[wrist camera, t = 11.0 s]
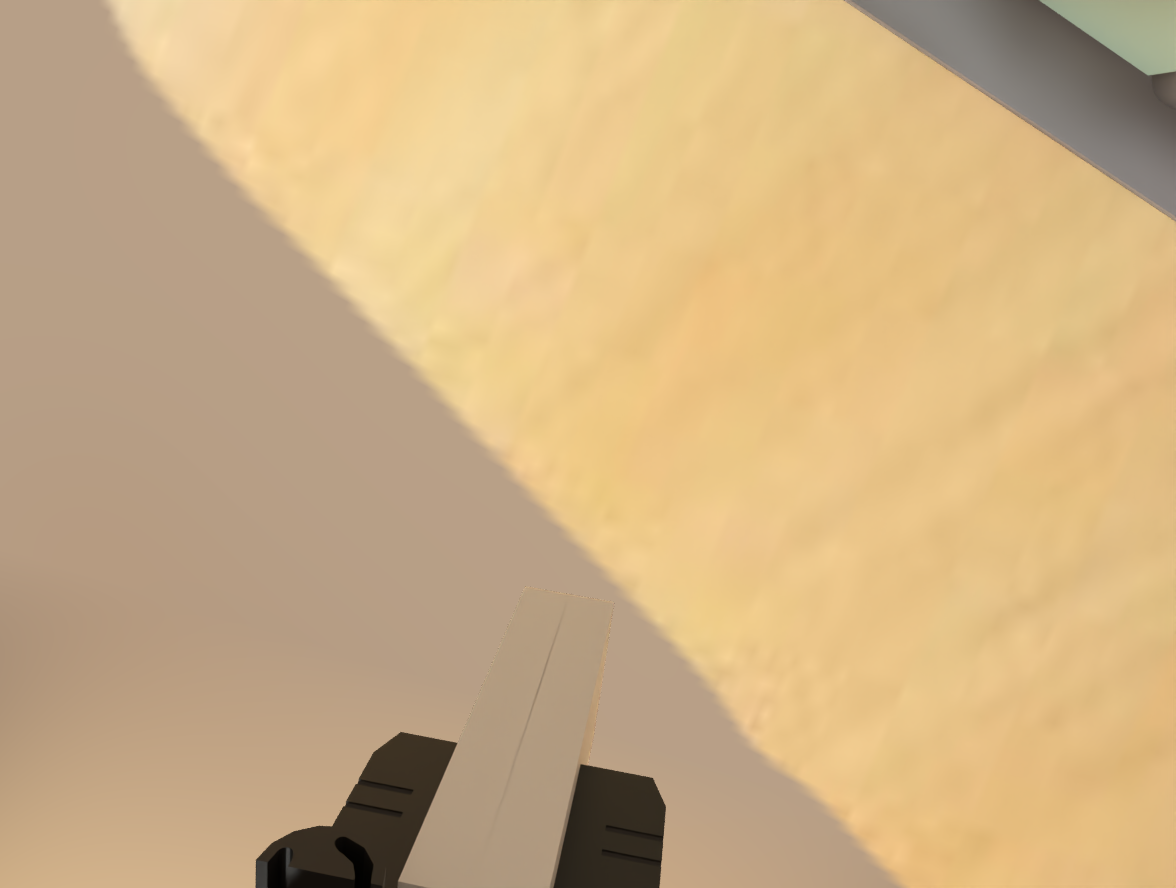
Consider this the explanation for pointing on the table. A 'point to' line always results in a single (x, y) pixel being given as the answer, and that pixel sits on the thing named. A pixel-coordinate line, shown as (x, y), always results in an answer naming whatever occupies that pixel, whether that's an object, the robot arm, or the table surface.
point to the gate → (1132, 35)
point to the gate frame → (1049, 82)
